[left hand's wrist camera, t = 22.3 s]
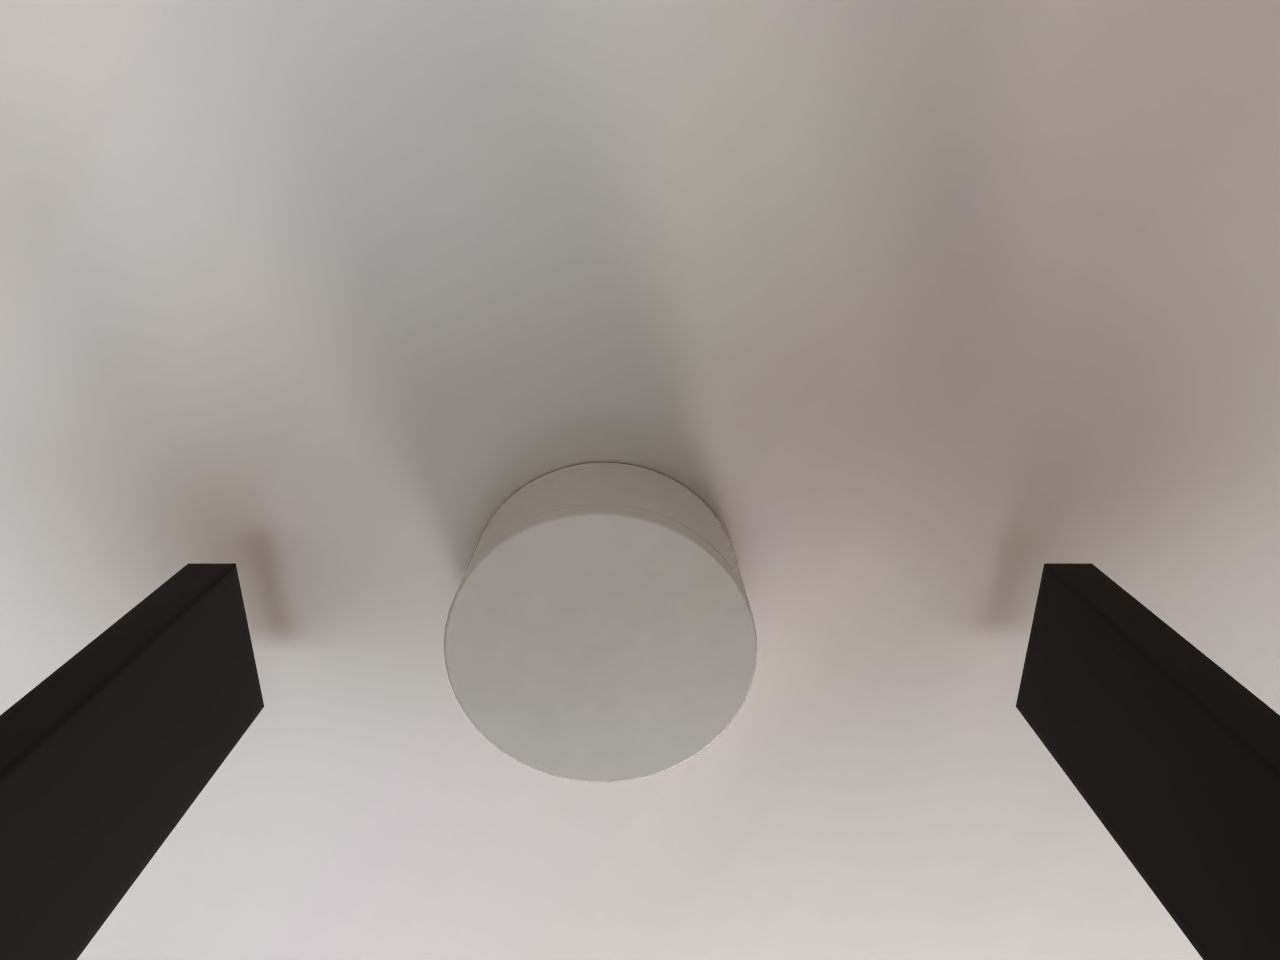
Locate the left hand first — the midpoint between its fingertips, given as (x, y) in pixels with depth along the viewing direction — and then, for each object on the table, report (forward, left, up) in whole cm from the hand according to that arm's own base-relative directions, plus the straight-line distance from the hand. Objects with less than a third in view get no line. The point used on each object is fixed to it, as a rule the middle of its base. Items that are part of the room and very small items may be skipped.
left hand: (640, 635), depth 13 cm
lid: (0, 0, 0) cm, 1 cm away
